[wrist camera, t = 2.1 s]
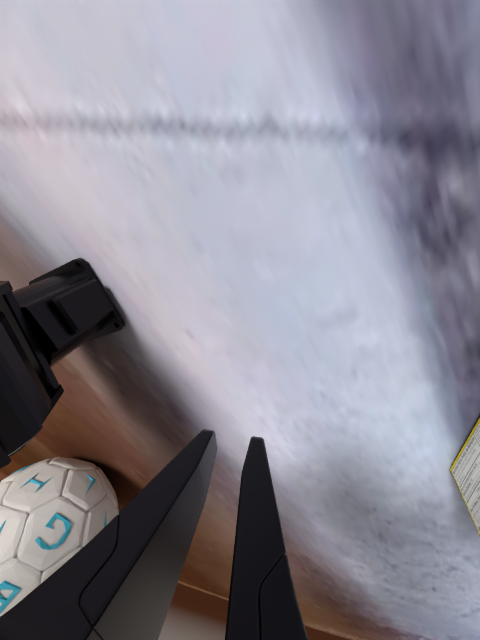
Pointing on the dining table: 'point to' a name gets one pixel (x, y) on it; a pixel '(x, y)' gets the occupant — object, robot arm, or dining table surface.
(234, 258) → the dining table surface
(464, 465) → the candy box
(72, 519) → the puzzle ball
